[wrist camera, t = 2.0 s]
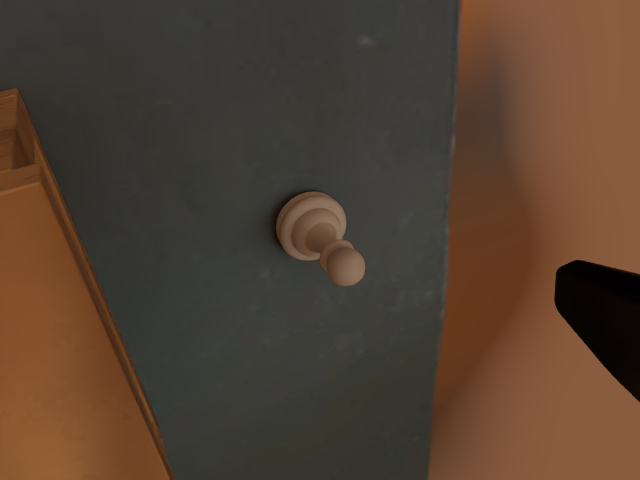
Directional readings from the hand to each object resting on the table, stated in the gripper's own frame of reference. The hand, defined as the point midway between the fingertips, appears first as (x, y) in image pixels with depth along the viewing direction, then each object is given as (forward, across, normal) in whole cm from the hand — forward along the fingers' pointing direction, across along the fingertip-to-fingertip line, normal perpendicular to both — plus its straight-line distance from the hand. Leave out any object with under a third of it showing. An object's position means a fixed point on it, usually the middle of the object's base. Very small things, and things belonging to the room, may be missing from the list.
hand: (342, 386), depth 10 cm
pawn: (+11, -3, +4) cm, 12 cm away
